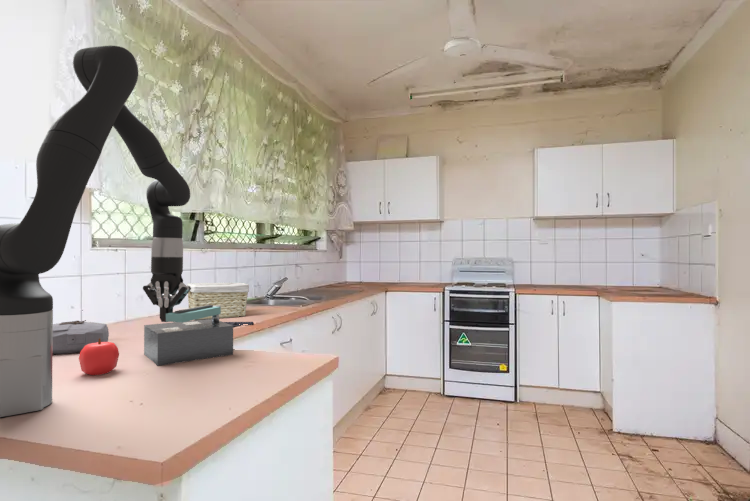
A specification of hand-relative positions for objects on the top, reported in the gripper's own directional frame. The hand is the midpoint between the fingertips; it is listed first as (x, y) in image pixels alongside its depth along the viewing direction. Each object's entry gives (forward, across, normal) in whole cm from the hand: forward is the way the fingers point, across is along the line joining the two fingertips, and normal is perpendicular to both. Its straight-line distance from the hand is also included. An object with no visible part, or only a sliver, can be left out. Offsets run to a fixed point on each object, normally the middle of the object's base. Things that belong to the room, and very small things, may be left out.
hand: (166, 321), depth 113 cm
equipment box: (+10, -2, -7) cm, 12 cm away
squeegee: (+11, +9, -49) cm, 51 cm away
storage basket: (+10, +28, -74) cm, 79 cm away
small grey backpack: (+11, +36, -6) cm, 38 cm away
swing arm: (-1, -5, -6) cm, 8 cm away
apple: (+10, +7, +14) cm, 19 cm away
